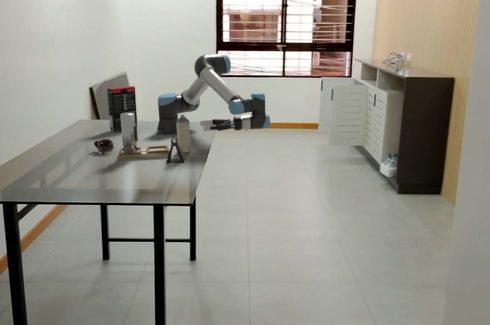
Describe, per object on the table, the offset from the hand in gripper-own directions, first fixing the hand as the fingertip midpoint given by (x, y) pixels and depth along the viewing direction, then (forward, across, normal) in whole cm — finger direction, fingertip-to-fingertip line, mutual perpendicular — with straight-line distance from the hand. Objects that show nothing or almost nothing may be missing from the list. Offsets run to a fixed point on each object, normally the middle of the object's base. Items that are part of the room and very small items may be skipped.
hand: (201, 125), depth 278 cm
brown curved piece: (+52, +11, -13) cm, 55 cm away
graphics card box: (+43, +68, -12) cm, 82 cm away
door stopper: (+16, -19, -14) cm, 28 cm away
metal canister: (+38, -4, -10) cm, 40 cm away
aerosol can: (+10, -1, -13) cm, 17 cm away
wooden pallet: (+31, -4, -13) cm, 34 cm away
